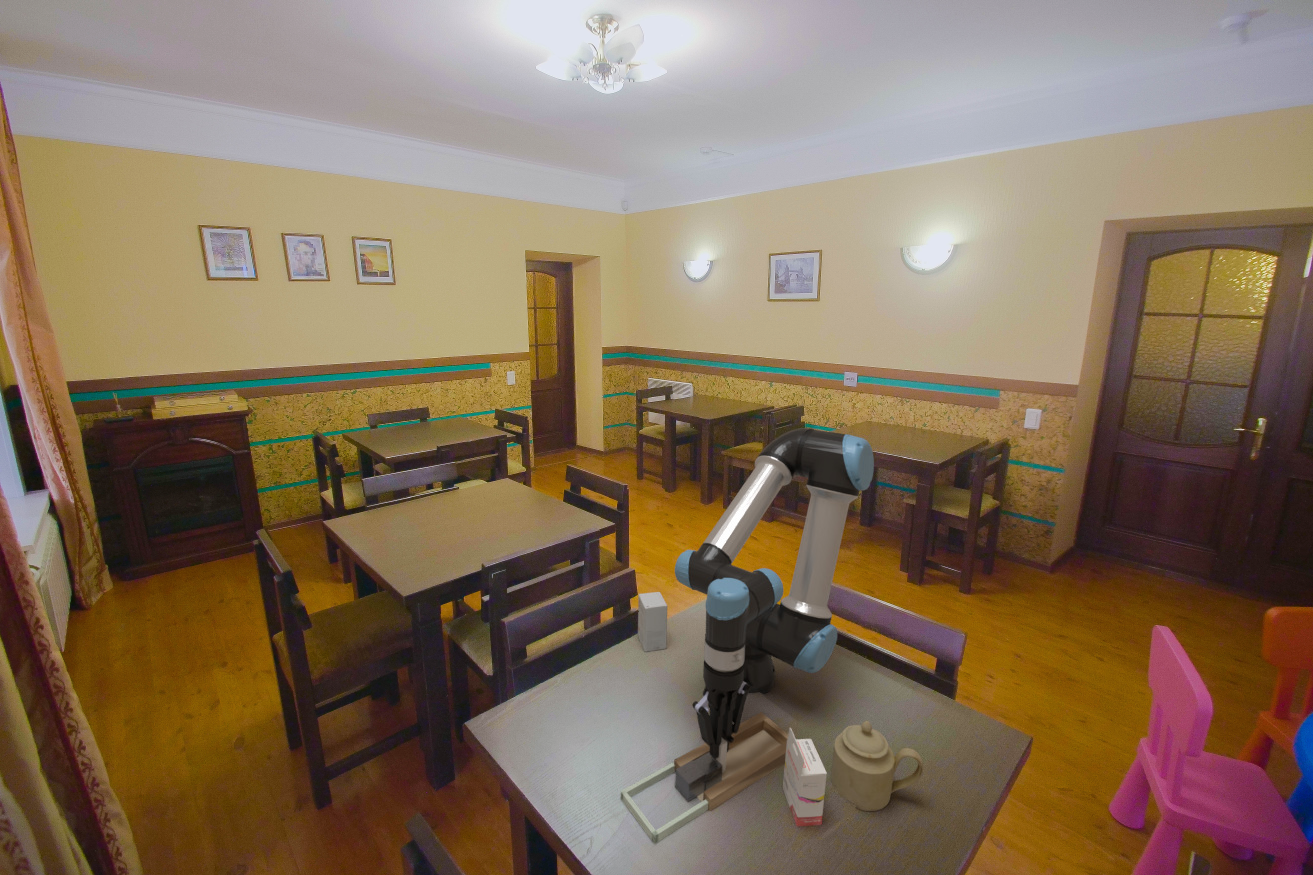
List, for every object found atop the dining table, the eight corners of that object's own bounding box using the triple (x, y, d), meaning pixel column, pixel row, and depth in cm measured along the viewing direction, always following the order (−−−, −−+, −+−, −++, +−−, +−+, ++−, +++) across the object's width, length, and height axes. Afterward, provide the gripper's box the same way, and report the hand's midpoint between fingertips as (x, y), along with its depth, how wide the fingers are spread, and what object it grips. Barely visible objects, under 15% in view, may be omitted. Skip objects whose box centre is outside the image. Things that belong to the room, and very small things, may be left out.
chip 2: (692, 778, 109) (693, 760, 108) (708, 768, 111) (708, 751, 110) (705, 792, 106) (706, 774, 105) (721, 782, 108) (722, 765, 107)
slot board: (673, 774, 111) (674, 759, 110) (760, 725, 124) (761, 712, 124) (709, 815, 102) (710, 799, 101) (798, 757, 116) (799, 743, 115)
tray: (620, 802, 105) (620, 791, 104) (672, 773, 111) (672, 762, 111) (654, 848, 96) (654, 836, 95) (708, 813, 103) (708, 802, 102)
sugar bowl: (890, 760, 115) (898, 697, 112) (921, 807, 105) (931, 738, 101) (821, 767, 114) (827, 702, 110) (845, 814, 103) (853, 745, 99)
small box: (666, 649, 152) (668, 605, 149) (644, 652, 150) (644, 608, 147) (659, 632, 159) (660, 590, 156) (637, 635, 158) (637, 593, 155)
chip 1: (675, 786, 107) (675, 769, 106) (691, 777, 109) (692, 759, 108) (688, 801, 104) (688, 783, 103) (704, 791, 106) (705, 773, 105)
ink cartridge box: (823, 829, 100) (830, 759, 97) (795, 830, 99) (802, 761, 96) (806, 789, 108) (812, 723, 105) (781, 790, 108) (786, 724, 104)
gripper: (710, 684, 98) (705, 796, 103) (763, 659, 105) (755, 765, 110) (684, 662, 104) (680, 769, 109) (735, 640, 111) (729, 741, 116)
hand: (718, 767), depth 110 cm, fingers closed
